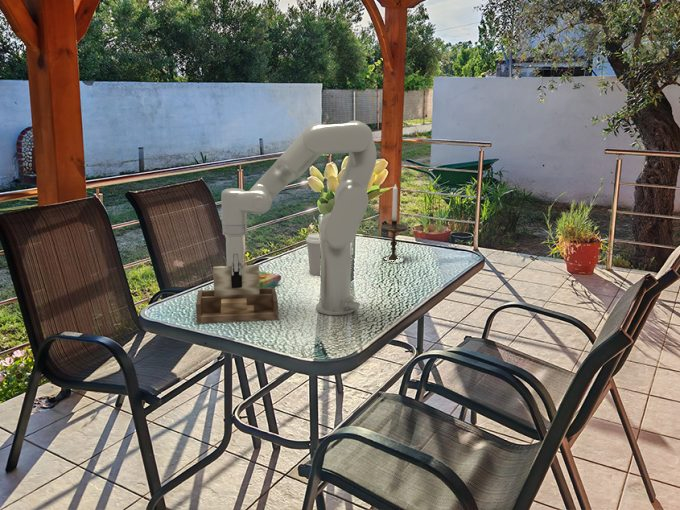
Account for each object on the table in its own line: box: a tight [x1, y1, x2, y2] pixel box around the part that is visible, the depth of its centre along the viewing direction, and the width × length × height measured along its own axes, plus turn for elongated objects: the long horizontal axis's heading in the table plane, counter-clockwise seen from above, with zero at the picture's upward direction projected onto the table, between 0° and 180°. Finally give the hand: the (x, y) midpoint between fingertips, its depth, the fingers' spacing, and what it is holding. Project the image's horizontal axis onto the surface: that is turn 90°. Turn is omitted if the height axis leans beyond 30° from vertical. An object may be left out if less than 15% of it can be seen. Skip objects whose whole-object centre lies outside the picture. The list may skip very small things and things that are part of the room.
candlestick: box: [380, 177, 408, 262], centre depth 265 cm, size 11×11×35 cm
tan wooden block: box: [221, 298, 254, 315], centre depth 199 cm, size 10×5×5 cm, turn 99°
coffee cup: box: [305, 232, 321, 277], centre depth 248 cm, size 10×10×15 cm
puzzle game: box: [259, 270, 282, 288], centre depth 230 cm, size 12×5×20 cm
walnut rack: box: [195, 286, 279, 325], centre depth 201 cm, size 24×14×7 cm, turn 99°
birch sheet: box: [212, 264, 260, 296], centre depth 204 cm, size 14×2×14 cm, turn 99°
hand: (236, 286), depth 204 cm, fingers closed
